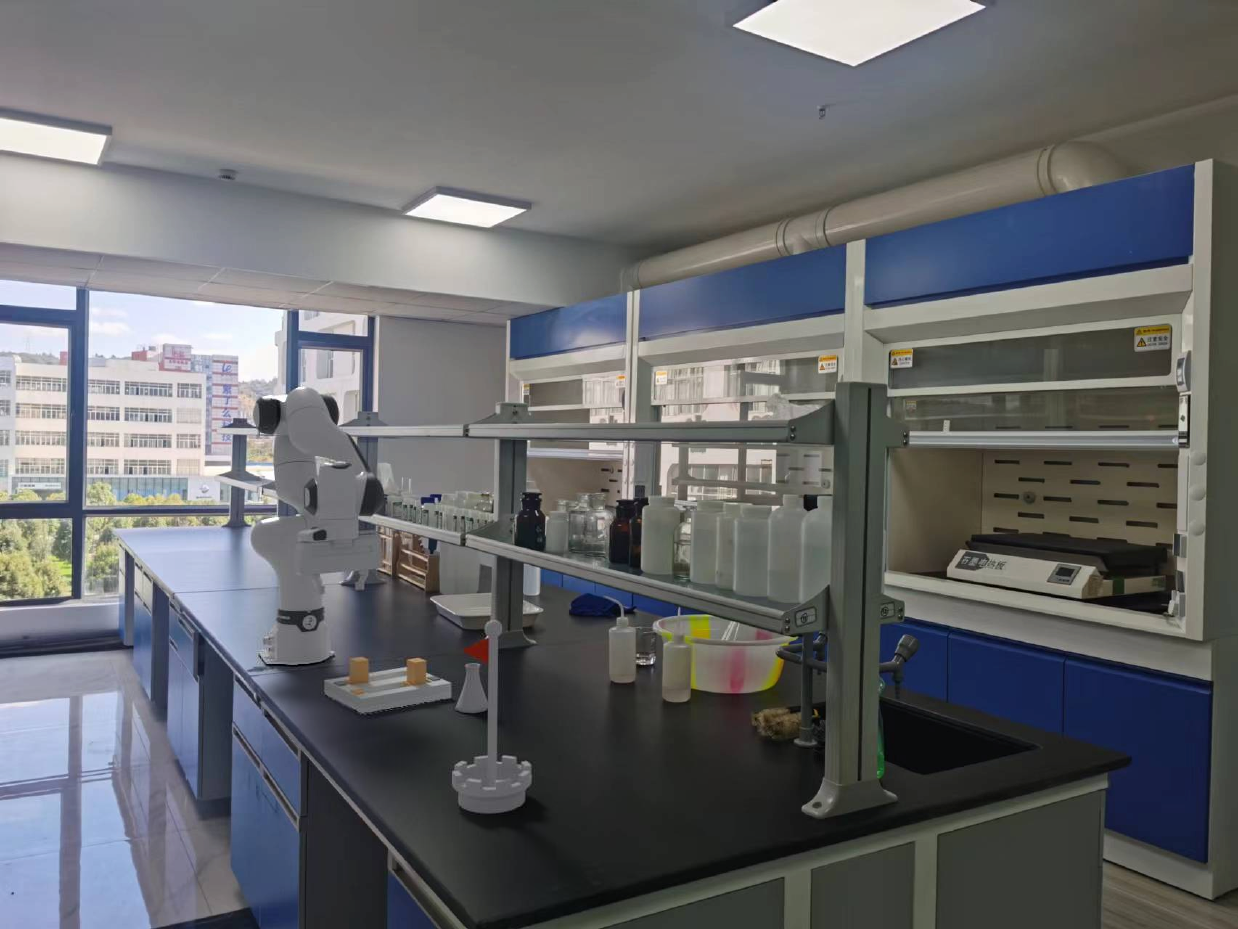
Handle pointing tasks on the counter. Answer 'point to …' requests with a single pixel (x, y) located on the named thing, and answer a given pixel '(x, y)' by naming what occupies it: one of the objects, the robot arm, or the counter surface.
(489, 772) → the flag stand
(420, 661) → the tab
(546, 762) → the counter surface
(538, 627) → the counter surface
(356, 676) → the tab
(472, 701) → the flask
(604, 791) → the counter surface
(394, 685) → the switch box
